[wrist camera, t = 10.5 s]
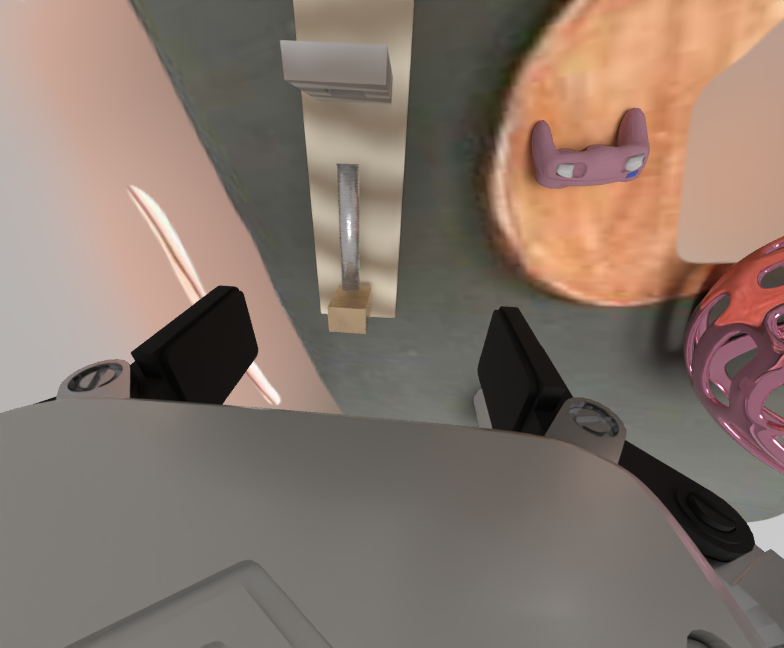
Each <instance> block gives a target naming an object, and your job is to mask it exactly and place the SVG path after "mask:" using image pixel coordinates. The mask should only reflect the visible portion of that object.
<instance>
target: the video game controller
mask: <svg viewBox="0 0 784 648" xmlns="http://www.w3.org/2000/svg"><path fill="white" fill-rule="evenodd" d="M531 143H532V157H533V162H534V165H535V169H536V173H537V174H536V181H537V182H538V183H539V184H540V185H542V186H544V187H548V188H554V189H559V188H564V187H567V186H591V185H601V184H608V183H613V182H617V181H619V182H627V181H632V180H634V179H636V178H637V177H638V176H639V174H640V173H641V171H642V169H643V167H644V166H645V164H646V161H647V159H648V155H649V151H650V146H649V141H648V135H647V127H646V120H645V116H644V113H643V112H642V111H641V109H639V108H632V109H630V110H629V111H628V112H627V113H626V114H625V116H624V118H623V120H622V122H621V124H620V128H619V133H618V143H617V147H612V146H605V145H598V144H597V145H592V146H589V147H588V148H587V150H585V151H580V152H576V151H574V150H572V149H559V150H557V149H556V148H555V145H554V143H553V139H552V135H551V131H550V127H549V126H548V124H547V123H546V122H545V121H544V120H541V121H539V122H538V123H537V124H536V126H535V128H534V130H533V134H532V142H531Z"/></svg>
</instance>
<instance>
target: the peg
mask: <svg viewBox="0 0 784 648" xmlns="http://www.w3.org/2000/svg"><path fill="white" fill-rule="evenodd" d="M336 165H337V187H338V209H339V231H340V253H341V275H342V285H340V284H339V286H338V288H337V290H336V292H335V293H334V295H333V297H332V299H331V301H330V303H329V305H328V307H327V309H328V322H329V331H331V332H346V333H361V334H366V331H367V326H368V322H369V318H370V314H371V309H372V286H360V209H359V164H349V163H336Z"/></svg>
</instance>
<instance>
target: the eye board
mask: <svg viewBox="0 0 784 648" xmlns="http://www.w3.org/2000/svg"><path fill="white" fill-rule="evenodd" d="M293 5H294V16H295V27H296V39H297V41H288V40H280V45H281V54H282V63H283V72H284V80H285V81H287V82H289V83H290V84H292V85H294V86H295V87H297V88H299V89H300V90H301V94H302V105H303V116H304V127H305V139H306V150H307V161H308V172H309V183H310V194H311V205H312V216H313V227H314V239H315V250H316V261H317V272H318V283H319V294H320V305H321V313H324V314H328V309H327V307H328V305H329V303H330V301H331V299H332V297H333V295H334V293H335V292H336V290H337V288H338V286H339V284H340V285H342V275H341V253H340V231H339V209H338V187H337V165H336V163H349V164H359V209H360V286H372V309H371V314H370V316H371V317H386V318H395V309H396V293H397V276H398V260H399V243H400V227H401V210H402V194H403V177H404V161H405V144H406V128H407V111H408V95H409V78H410V62H411V45H412V29H413V12H414V0H293Z"/></svg>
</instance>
